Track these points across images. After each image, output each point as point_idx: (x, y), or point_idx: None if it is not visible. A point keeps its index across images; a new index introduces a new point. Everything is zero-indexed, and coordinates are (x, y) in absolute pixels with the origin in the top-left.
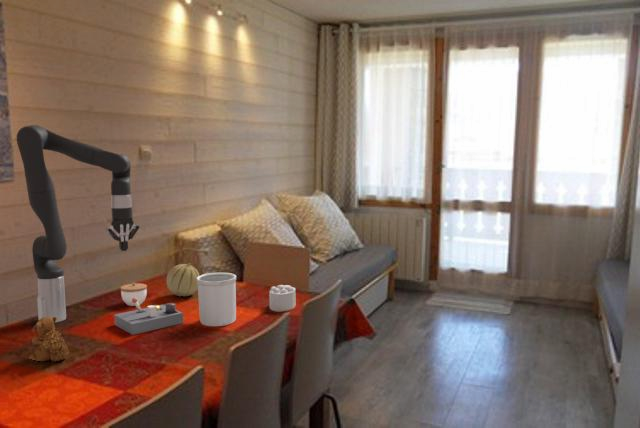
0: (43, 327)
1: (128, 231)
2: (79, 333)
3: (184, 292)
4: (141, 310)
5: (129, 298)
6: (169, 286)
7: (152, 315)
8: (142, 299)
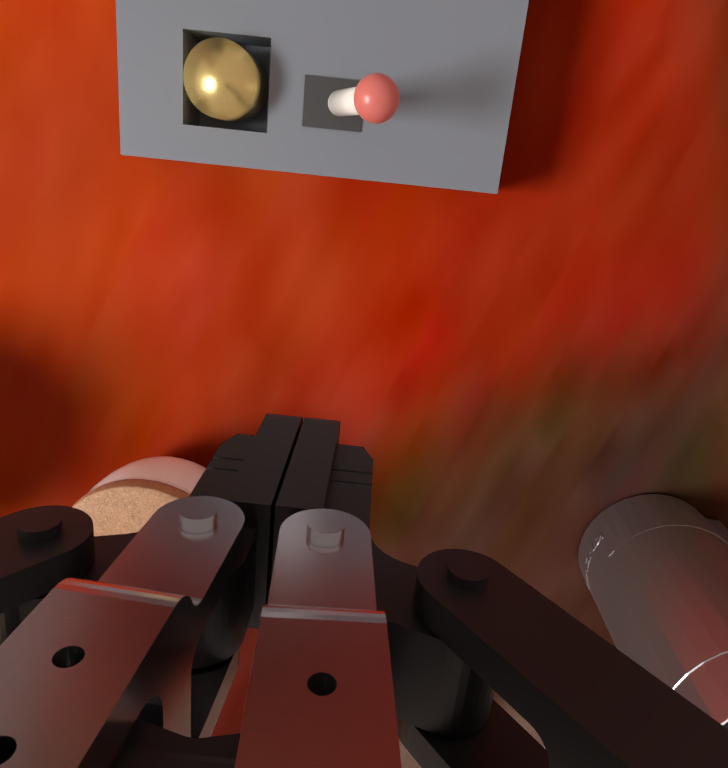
0: None
1: (7, 669)
2: (714, 200)
3: None
4: (312, 136)
5: None
6: None
7: None
8: (145, 458)
